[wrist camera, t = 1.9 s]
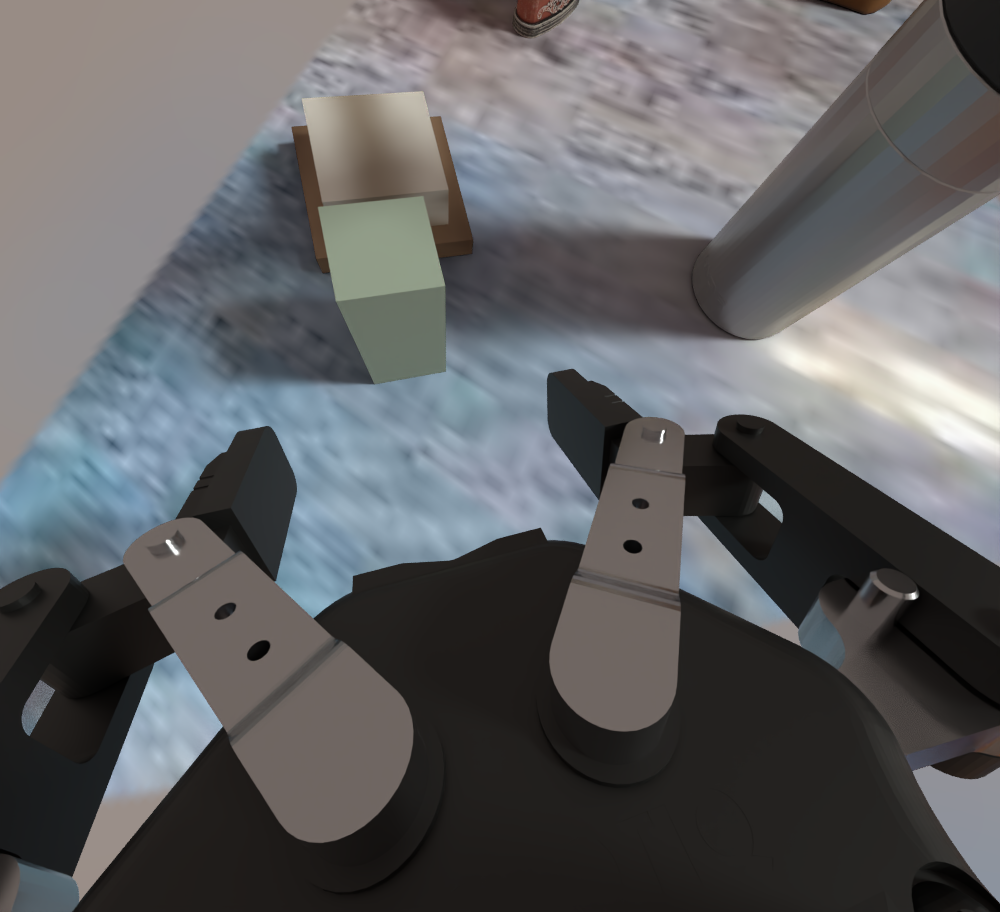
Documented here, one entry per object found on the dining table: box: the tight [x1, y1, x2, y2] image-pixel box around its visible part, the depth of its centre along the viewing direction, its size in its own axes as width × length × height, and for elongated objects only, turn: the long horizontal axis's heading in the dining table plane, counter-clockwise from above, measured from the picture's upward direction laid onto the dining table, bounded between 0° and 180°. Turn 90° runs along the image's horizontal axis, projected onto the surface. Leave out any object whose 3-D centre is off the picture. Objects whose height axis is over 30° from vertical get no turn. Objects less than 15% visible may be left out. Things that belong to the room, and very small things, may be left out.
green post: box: [318, 196, 446, 384], centre depth 24 cm, size 5×5×10 cm
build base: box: [292, 91, 473, 273], centre depth 29 cm, size 11×11×4 cm
